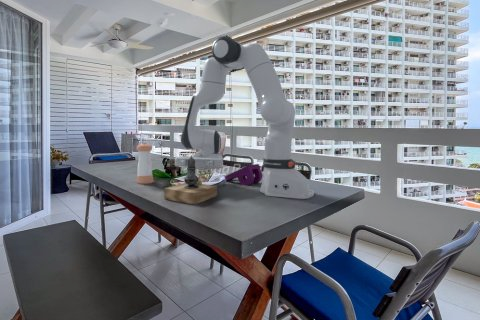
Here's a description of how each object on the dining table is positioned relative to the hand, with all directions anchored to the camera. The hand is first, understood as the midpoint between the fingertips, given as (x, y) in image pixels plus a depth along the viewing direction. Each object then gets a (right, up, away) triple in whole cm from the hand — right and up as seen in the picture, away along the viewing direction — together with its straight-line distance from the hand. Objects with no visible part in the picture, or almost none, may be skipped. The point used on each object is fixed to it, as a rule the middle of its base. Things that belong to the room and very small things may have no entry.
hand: (194, 164), depth 108 cm
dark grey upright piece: (-1, -9, -4) cm, 10 cm away
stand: (-1, -13, -4) cm, 13 cm away
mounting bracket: (+18, -10, +28) cm, 35 cm away
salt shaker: (-28, -9, +23) cm, 38 cm away
